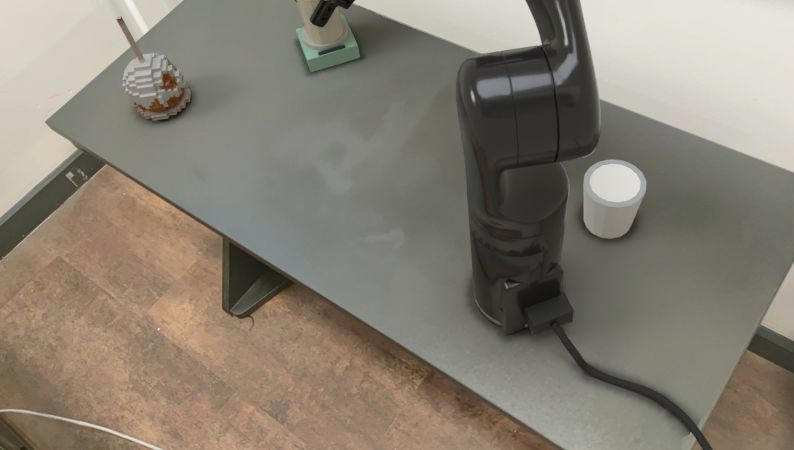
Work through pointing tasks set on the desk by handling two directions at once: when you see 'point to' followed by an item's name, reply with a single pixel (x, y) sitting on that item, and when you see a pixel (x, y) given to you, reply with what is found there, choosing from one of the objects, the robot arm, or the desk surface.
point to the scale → (329, 49)
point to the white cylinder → (612, 197)
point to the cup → (320, 35)
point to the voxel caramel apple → (153, 83)
